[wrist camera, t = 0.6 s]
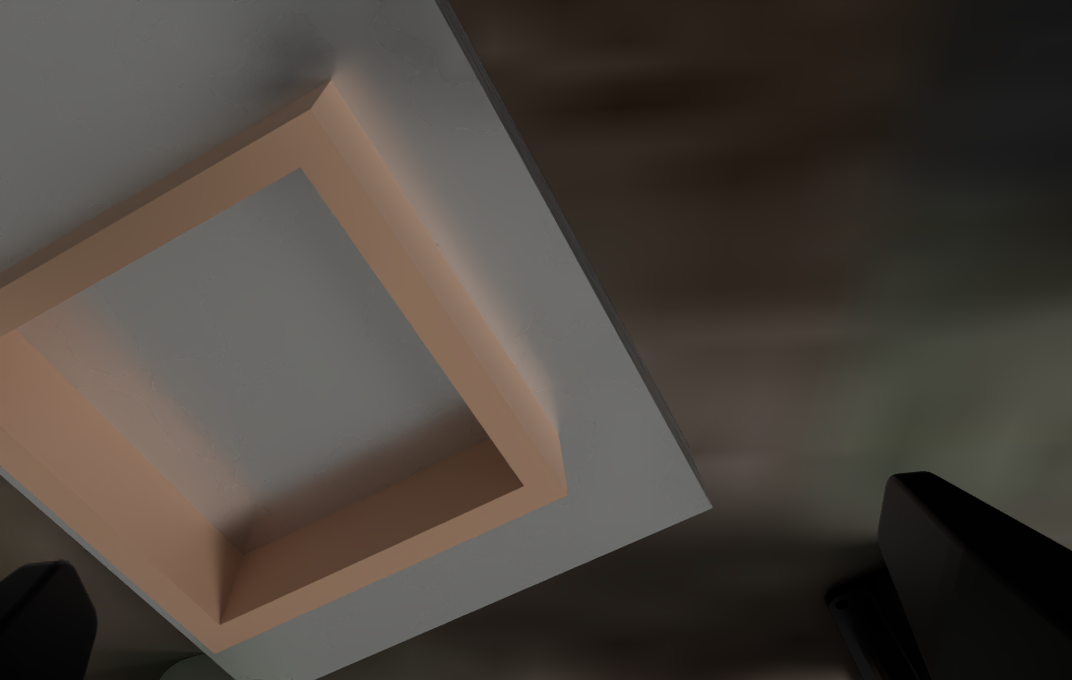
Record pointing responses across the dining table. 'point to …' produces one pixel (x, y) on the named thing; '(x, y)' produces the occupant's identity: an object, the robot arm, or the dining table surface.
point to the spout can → (196, 670)
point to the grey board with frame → (305, 326)
